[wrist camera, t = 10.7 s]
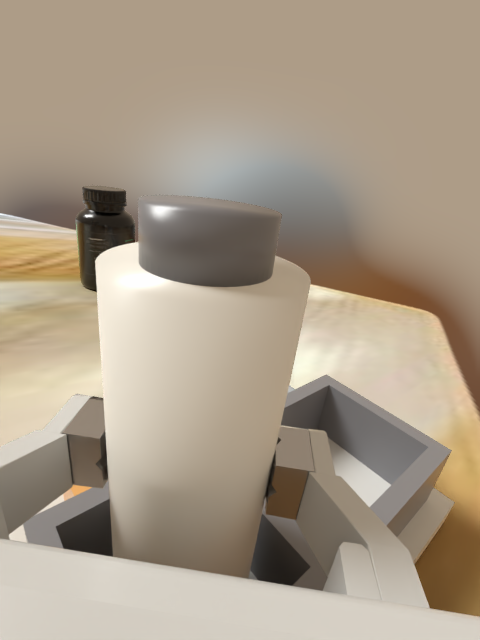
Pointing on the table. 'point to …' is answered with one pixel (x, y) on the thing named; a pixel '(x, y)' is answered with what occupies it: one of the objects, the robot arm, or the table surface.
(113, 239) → the supplement bottle
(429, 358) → the table surface
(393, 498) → the socket board
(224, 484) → the white bottle
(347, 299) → the table surface
